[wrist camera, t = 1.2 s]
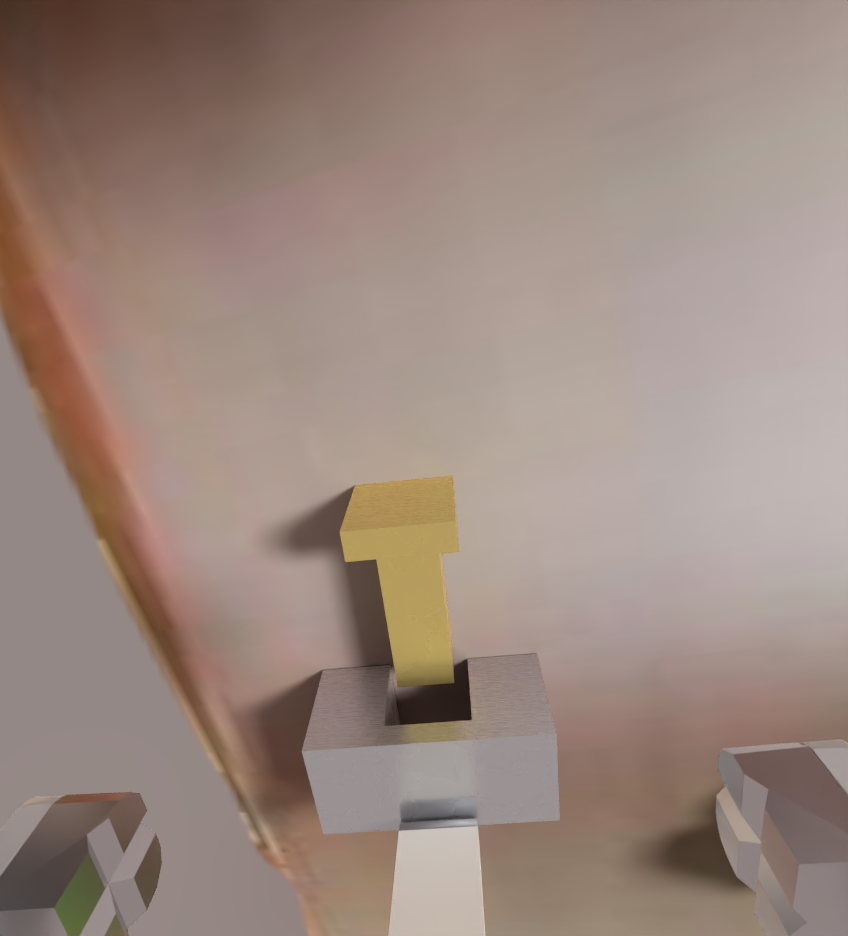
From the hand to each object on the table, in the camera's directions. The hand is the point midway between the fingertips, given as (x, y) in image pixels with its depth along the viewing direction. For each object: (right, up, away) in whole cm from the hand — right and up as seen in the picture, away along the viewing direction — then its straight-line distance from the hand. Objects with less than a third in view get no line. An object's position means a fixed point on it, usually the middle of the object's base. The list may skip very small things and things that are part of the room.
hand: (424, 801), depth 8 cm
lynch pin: (0, -1, +23) cm, 23 cm away
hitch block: (+1, -9, +26) cm, 28 cm away
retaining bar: (+1, -14, +21) cm, 26 cm away
